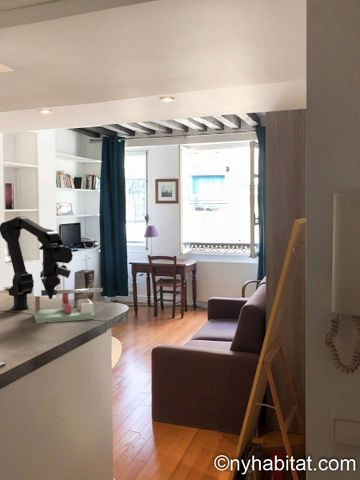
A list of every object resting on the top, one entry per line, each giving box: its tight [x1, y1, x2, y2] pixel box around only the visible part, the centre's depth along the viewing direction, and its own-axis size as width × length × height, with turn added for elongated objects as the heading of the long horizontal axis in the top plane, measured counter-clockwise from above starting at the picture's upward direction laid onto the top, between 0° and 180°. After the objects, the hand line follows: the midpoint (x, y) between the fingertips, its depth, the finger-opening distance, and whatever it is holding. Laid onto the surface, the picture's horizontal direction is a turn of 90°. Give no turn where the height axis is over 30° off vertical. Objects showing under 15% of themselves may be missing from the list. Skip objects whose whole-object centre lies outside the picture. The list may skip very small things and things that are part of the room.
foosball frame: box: [33, 294, 95, 324], centre depth 186 cm, size 13×23×8 cm, turn 113°
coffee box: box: [73, 269, 95, 308], centre depth 207 cm, size 9×6×16 cm
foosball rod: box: [40, 287, 104, 313], centre depth 189 cm, size 10×26×8 cm, turn 113°
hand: (49, 297), depth 189 cm, fingers open, 6 cm apart
